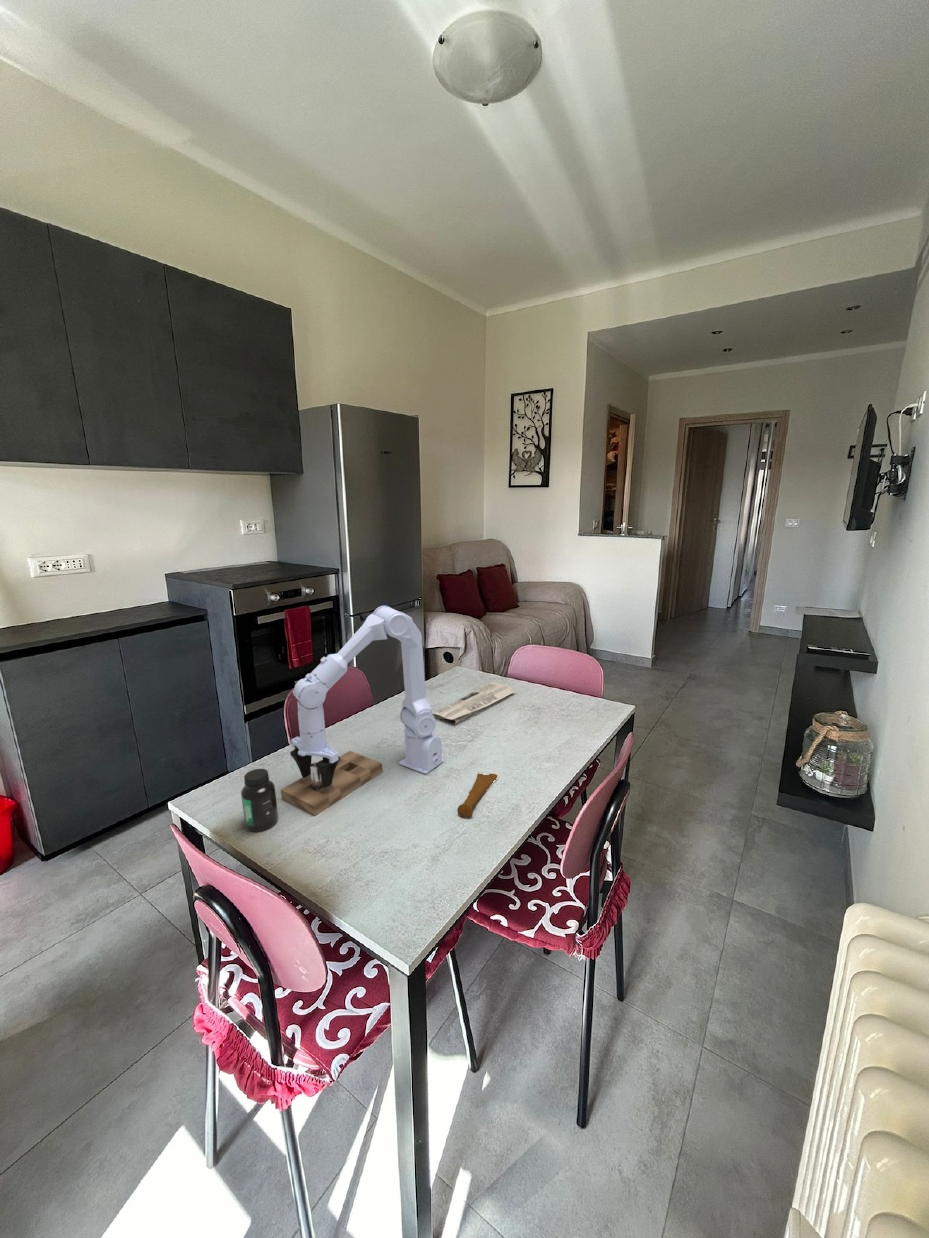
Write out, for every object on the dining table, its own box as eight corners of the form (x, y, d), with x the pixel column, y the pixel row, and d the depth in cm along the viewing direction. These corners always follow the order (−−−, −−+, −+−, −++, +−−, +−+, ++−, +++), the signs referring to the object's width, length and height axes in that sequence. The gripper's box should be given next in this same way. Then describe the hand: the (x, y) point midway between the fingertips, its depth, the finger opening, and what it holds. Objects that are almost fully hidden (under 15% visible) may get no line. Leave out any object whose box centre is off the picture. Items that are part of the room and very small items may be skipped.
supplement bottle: (249, 836, 105) (242, 786, 102) (242, 820, 110) (235, 772, 107) (282, 824, 109) (276, 775, 106) (273, 809, 114) (268, 762, 111)
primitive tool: (478, 773, 128) (478, 761, 127) (499, 776, 127) (499, 764, 126) (456, 818, 111) (455, 805, 110) (479, 823, 109) (479, 809, 108)
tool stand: (382, 771, 129) (382, 763, 128) (315, 815, 111) (314, 806, 111) (350, 758, 136) (349, 750, 135) (281, 798, 118) (280, 789, 117)
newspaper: (489, 687, 187) (489, 678, 186) (517, 694, 180) (518, 685, 179) (428, 720, 160) (428, 710, 159) (458, 730, 153) (458, 719, 152)
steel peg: (326, 793, 120) (323, 763, 118) (317, 798, 118) (315, 768, 116) (319, 790, 121) (316, 760, 119) (310, 795, 119) (307, 765, 117)
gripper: (278, 727, 116) (284, 779, 119) (319, 743, 108) (324, 798, 111) (303, 716, 122) (307, 766, 125) (343, 731, 114) (347, 783, 117)
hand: (317, 780), depth 119 cm, fingers open, 7 cm apart
